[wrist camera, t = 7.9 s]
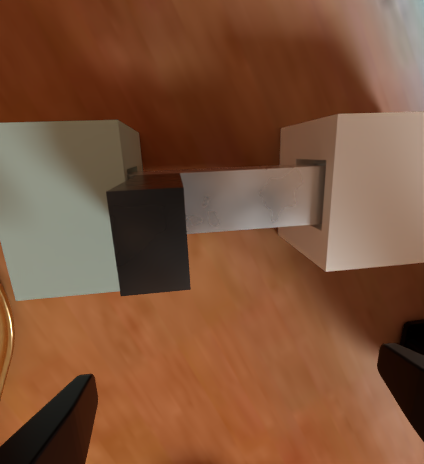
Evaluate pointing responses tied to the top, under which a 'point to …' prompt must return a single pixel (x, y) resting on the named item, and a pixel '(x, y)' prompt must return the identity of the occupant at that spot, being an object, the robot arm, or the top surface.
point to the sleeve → (362, 189)
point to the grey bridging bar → (201, 215)
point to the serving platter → (5, 337)
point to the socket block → (62, 204)
